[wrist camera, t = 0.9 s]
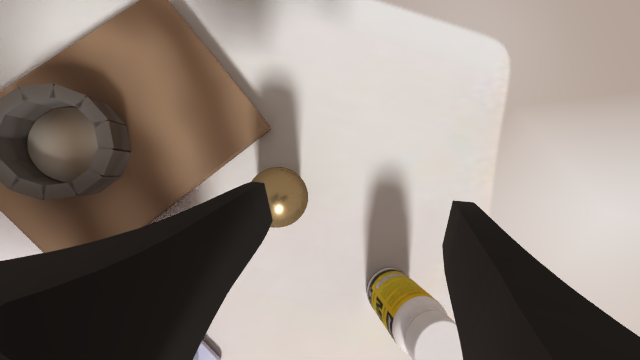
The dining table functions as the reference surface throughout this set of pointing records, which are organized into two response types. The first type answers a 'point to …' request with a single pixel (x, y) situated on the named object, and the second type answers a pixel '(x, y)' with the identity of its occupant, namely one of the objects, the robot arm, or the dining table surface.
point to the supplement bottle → (413, 317)
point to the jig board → (158, 121)
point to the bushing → (284, 195)
